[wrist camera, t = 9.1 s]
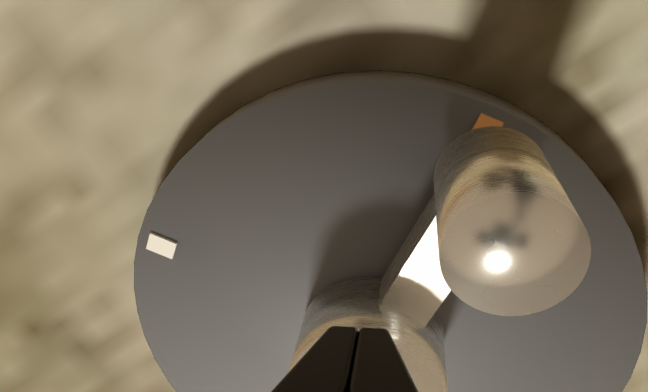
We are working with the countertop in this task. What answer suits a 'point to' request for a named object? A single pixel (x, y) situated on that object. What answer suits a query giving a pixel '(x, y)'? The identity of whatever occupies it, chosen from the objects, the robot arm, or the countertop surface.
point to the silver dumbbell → (466, 253)
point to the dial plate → (361, 240)
